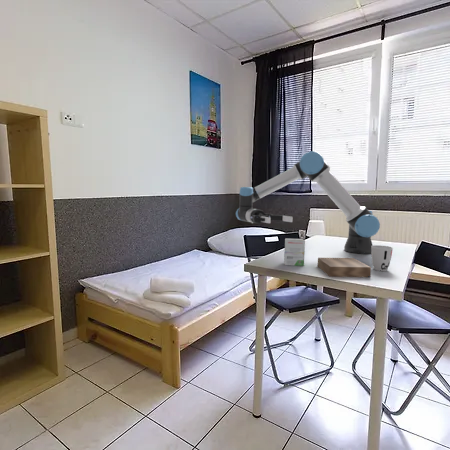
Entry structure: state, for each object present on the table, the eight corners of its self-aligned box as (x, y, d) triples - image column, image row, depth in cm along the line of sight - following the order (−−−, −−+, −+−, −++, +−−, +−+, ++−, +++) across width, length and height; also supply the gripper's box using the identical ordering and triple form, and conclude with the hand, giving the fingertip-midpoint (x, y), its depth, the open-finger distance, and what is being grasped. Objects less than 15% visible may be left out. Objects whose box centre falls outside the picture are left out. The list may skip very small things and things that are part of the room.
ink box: (284, 265, 134) (285, 239, 133) (283, 262, 139) (284, 237, 138) (304, 266, 133) (305, 240, 132) (302, 263, 138) (303, 238, 137)
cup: (382, 273, 124) (384, 249, 122) (365, 268, 131) (367, 246, 130) (395, 270, 127) (396, 247, 126) (377, 266, 134) (379, 244, 133)
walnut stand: (353, 266, 133) (353, 258, 133) (370, 277, 117) (371, 267, 117) (317, 266, 133) (318, 257, 133) (329, 276, 117) (330, 266, 117)
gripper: (273, 222, 167) (300, 226, 149) (235, 223, 155) (259, 228, 137) (274, 208, 166) (300, 211, 148) (236, 209, 154) (260, 212, 136)
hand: (281, 220), depth 142 cm, fingers open, 13 cm apart
